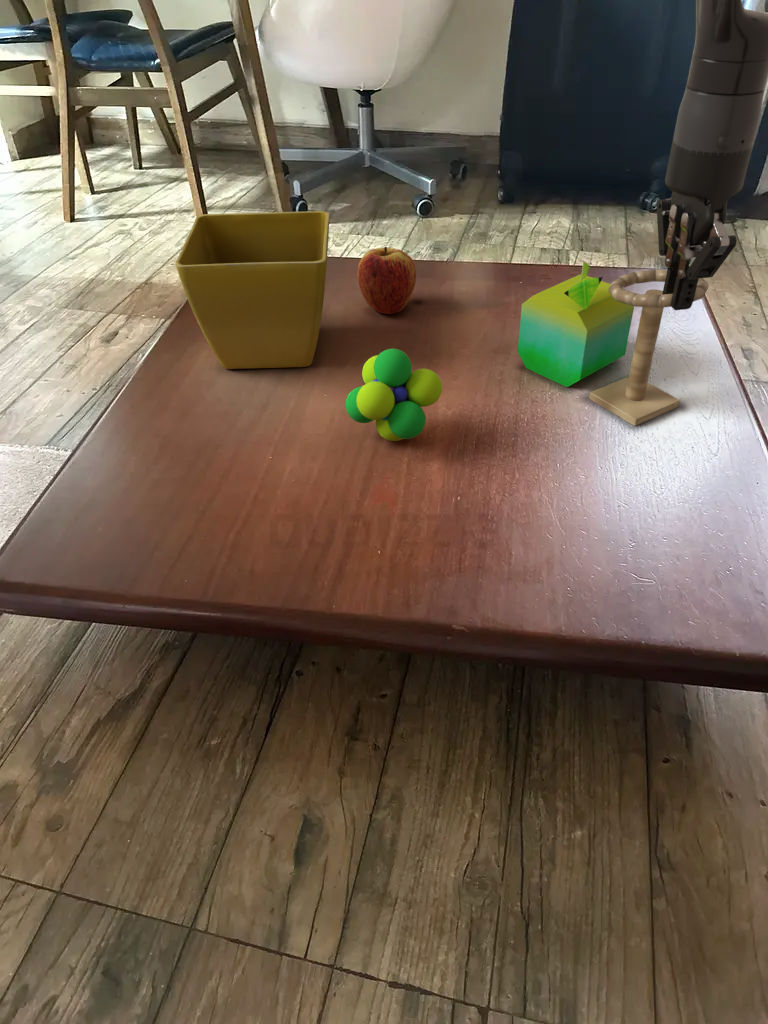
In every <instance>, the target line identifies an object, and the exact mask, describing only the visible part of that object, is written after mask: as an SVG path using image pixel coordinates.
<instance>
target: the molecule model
mask: <svg viewBox="0 0 768 1024" xmlns="http://www.w3.org/2000/svg"><path fill="white" fill-rule="evenodd" d="M412 369H413V367H412V362H411V359H410V358H409V355H408V354H407V353H406V352H404V351H402V350H401V349H398V348H388V349H385V350H383V351H381V352H379V354H377V355H374V356H373V355H372V356H371V357H370V358H368V359H367V360H366V361H365V363H364V364H363V367H362V371H361V375H362V380H363V382H364V385H362V386H357V387H355V388H354V389H352V390H351V391H350V392H349V393H348V394H347V395H346V396H347V397H346V399H345V410H346V413H347V415H348V416H349V417H350V419H352V420H353V421H354V422H356V423H359V424H368V423H372V422H373V421H375V427H376V430H377V433H378V434H379V435H380V436H381V438H383V439H384V440H387V441H390V442H399V441H401V440H410V439H413V438H416V437H417V436H419V435H420V434H422V432H423V430H424V429H425V426H426V414H425V411H424V409H423V408H422V407H429V406H432V405H433V404H435V403H436V402H437V401H438V400H439V399H440V398H441V394H442V392H443V383H442V379H441V378H440V375H438V374H437V373H436V372H435V371H433V370H432V369H428V368H417V369H416V370H414V371H413V372H412Z"/></svg>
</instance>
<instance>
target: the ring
mask: <svg viewBox="0 0 768 1024" xmlns="http://www.w3.org/2000/svg"><path fill="white" fill-rule="evenodd" d="M666 274H667V269H649V270H648V269H647V270H639V271H633V272H631V273H627V274H623V275H621V276H617V277H615V279H614V280H613V281H612V282H611V283H610V284H611V285H610V286H609V288H608V292H609V293H610V295H611V296H612V297H613V298H614V299H615V300H616V301H618V302H621V303H625V304H628V305H632V306H634V307H637V308H642V307H653V308H663V307H664V308H670V307H671V300H672V295H673V294H664V295H651V294H645V293H637V292H633V291H630V290H626V289H625V288H627V287H630V286H633V285H637V284H646V283H653V282H659V283H665V279H666ZM623 289H625V290H623ZM708 289H709V283H708V281H707V280H705V278H700V279H699V280H698V283H697V288H696V292H695V296H694V300H693V303H694V302H696V301H699V300H701V299H703V298H704V297H705V295H706V293H707V291H708ZM671 308H672V307H671Z"/></svg>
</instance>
